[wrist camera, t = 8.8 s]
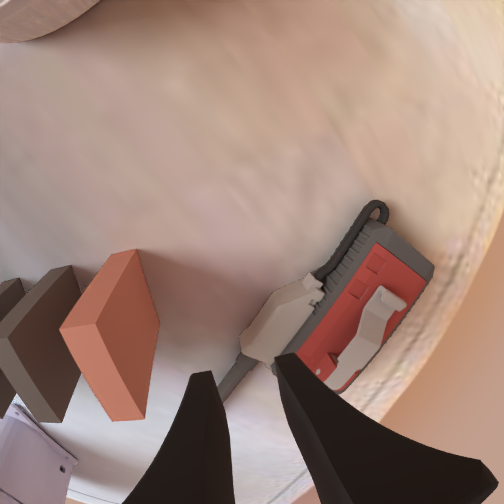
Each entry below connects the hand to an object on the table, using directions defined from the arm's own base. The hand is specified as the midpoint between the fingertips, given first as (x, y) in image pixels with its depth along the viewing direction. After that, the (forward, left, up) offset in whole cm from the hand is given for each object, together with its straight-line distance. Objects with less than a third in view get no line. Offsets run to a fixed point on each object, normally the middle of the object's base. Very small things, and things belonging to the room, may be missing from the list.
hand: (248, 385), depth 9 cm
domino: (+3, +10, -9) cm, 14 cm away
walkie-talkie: (-7, -3, -10) cm, 13 cm away
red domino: (+2, +5, -9) cm, 11 cm away
